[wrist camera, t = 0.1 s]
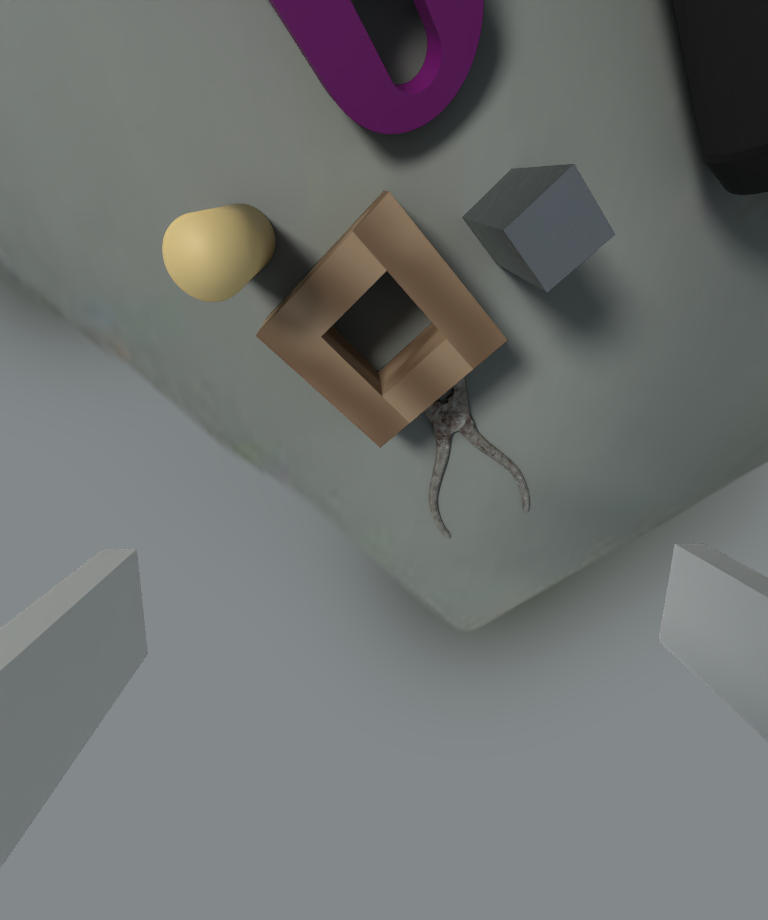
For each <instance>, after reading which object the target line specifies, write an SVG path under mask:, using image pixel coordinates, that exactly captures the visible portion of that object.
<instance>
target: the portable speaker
mask: <svg viewBox="0 0 768 920" xmlns="http://www.w3.org/2000/svg"><path fill="white" fill-rule="evenodd" d="M673 5H674V10H675V15H676V20H677V25H678V30H679V35H680V40H681V45H682V51H683V56H684V61H685V66H686V71H687V76H688V81H689V86H690V91H691V96H692V101H693V107H694V112H695V117H696V122H697V127H698V132H699V137H700V142H701V147H702V159H703V161H704V162H705V163H706V165H707V166H708V167H709V168H710V170H711V171H712V172H713V174H714V175H715V176H716V178H717V179H718V180H719V181H720V183H721V184H722V185H723V187H724V188H725V189H726V190H727V191H728V192H730V193H733V194H738V195H747V194H756V193H762V192H768V0H673Z"/></svg>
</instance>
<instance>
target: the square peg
mask: <svg viewBox="0 0 768 920" xmlns="http://www.w3.org/2000/svg"><path fill="white" fill-rule="evenodd" d="M462 218H463V219H464V220H465V222H466V223H467V224H468V226H469V227H470V229H471V230H472V231H473V233H474V234H475V235H476V237H477V238H478V239H479V241H480V242H481V243H482V245H483V246H484V247H485V249H486V250H487V251H488V253H489V254H490V256H491V257H492V258H493V260H494V261H495V262H496V264H497V265H499V266H501V267H502V268H504V269H506V270H508V271H510V272H511V273H513V274H515V275H517V276H519V277H520V278H522V279H524V280H526V281H527V282H529V283H531V284H533V285H535V286H536V287H538V288H540V289H542V290H544V291H545V292H549V291H550V290H551V289H552V288H553V287H554V286H556V285H557V284H558V283H559V282H560V281H561V280H563V279H564V278H565V277H566V276H567V275H568V274H570V273H571V272H572V271H573V270H574V269H575V268H577V267H578V266H579V265H580V264H581V263H582V262H584V261H585V260H586V259H587V258H588V257H589V256H591V255H592V254H593V253H594V252H595V251H596V250H598V249H599V248H600V247H601V246H602V245H603V244H605V243H606V242H607V241H608V240H609V239H610V238H612V237H613V236H614V235H615V233H614V231H613V230H612V228H611V226H610V224H609V223H608V221H607V219H606V218H605V216H604V214H603V212H602V211H601V209H600V207H599V206H598V204H597V202H596V200H595V199H594V197H593V195H592V194H591V192H590V190H589V188H588V187H587V185H586V183H585V182H584V180H583V178H582V176H581V175H580V173H579V171H578V170H577V168H576V166H575V164H567V165H554V166H542V167H529V168H516V169H511V170H510V171H509V172H508V173H507V174H506V175H505V176H504V177H503V178H502V179H501V180H500V181H499V182H498V183H497V184H496V185H495V186H494V187H493V188H492V189H491V190H490V191H489V192H488V193H487V194H486V195H485V196H484V197H483V198H482V199H481V200H480V201H478V202H477V203H476V204H475V205H474V206H473V207H472V208H471V209H470V210H469V211H468V212H467V213H466V214H465V215H464V216H463V217H462Z"/></svg>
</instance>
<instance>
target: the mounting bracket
mask: <svg viewBox="0 0 768 920" xmlns="http://www.w3.org/2000/svg"><path fill="white" fill-rule="evenodd" d="M269 1H270V3H271V5H272V6H273V8H274V9H275V11H276V12H277V14H278V16H279V17H280V19H281V20H282V22H283V24H284V25H285V27H286V28H287V30H288V31H289V33H290V35H291V36H292V38H293V39H294V41H295V43H296V44H297V46H298V47H299V49H300V50H301V52H302V54H303V55H304V57H305V58H306V60H307V61H308V63H309V65H310V66H311V68H312V69H313V71H314V73H315V74H316V76H317V77H318V79H319V80H320V82H321V84H322V85H323V87H324V88H325V90H326V91H327V93H328V94H329V95H330V96H331V98H332V99H333V100H334V101H335V102H336V103H337V104H338V106H339V107H340V108H341V109H342V110H343V111H344V112H345V113H346V114H347V115H348V116H349V117H350V118H351V119H352V120H354V121H355V122H356V123H358V124H359V125H361V126H363V127H365V128H367V129H369V130H372V131H374V132H378V133H383V134H399V133H405V132H409V131H412V130H415V129H417V128H419V127H421V126H423V125H425V124H426V123H428V122H429V121H431V120H432V119H433V118H435V117H436V116H437V115H438V114H439V113H440V112H442V111H443V110H444V108H445V107H446V106H447V105H448V104H449V103H450V102H451V100H452V99H453V98H454V96H455V95H456V94H457V92H458V90H459V89H460V87H461V86H462V84H463V82H464V80H465V78H466V76H467V74H468V72H469V70H470V67H471V65H472V62H473V59H474V56H475V54H476V50H477V46H478V43H479V38H480V33H481V28H482V20H483V7H484V0H413V1H414V4H415V6H416V9H417V11H418V13H419V16H420V18H421V21H422V23H423V25H424V28H425V31H426V35H427V54H426V58H425V61H424V64H423V66H422V68H421V70H420V71H419V73H418V74H417V75H416V76H415V77H414V78H413V79H412V80H411V81H409V82H407V83H404V84H393V82H392V80H391V78H390V76H389V74H388V72H387V70H386V69H385V67H384V65H383V63H382V61H381V59H380V57H379V55H378V53H377V51H376V49H375V47H374V45H373V43H372V41H371V39H370V37H369V35H368V33H367V31H366V29H365V27H364V25H363V24H362V22H361V20H360V18H359V16H358V14H357V12H356V10H355V8H354V6H353V4H352V2H351V0H269Z"/></svg>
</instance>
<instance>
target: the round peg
mask: <svg viewBox="0 0 768 920" xmlns="http://www.w3.org/2000/svg"><path fill="white" fill-rule="evenodd" d="M275 244H276V242H275V234H274V230H273V228H272V225H271V223H270V222H269V220H268V219H267V217H266V216H265V215H264V214H263V213H262V212H261V211H259V210H258V209H256V208H254V207H252V206H250V205H246V204H233V205H228V206H223V207H218V208H213V209H207V210H202V211H197V212H192V213H187V214H184V215H182V216H180V217H178V218H177V219H176V220H174V221H173V222H172V223H171V225H170V226H169V227H168V229H167V231H166V233H165V236H164V239H163V246H162V251H163V259H164V263H165V266H166V268H167V270H168V272H169V274H170V276H171V277H172V279H173V280H174V282H175V283H176V284H177V285H178V286H179V287H180V288H181V289H182V290H183V291H185V292H186V293H187V294H189V295H190V296H192V297H194V298H196V299H199V300H202V301H207V302H220V301H224V300H227V299H229V298H231V297H233V296H234V295H236V294H237V293H238V292H239V291H240V290H241V289H242V288H243V287H244V286H245V285H246V284H247V283H248V282H249V281H250V280H251V279H252V278H253V277H254V276H255V275H256V274H257V273H258V272H259V271H260V270H261V269H262V268H263V267H264V266H265V265H266V264H267V263H268V262H269V261H270V260H271V258H272V256H273V254H274V250H275Z"/></svg>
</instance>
